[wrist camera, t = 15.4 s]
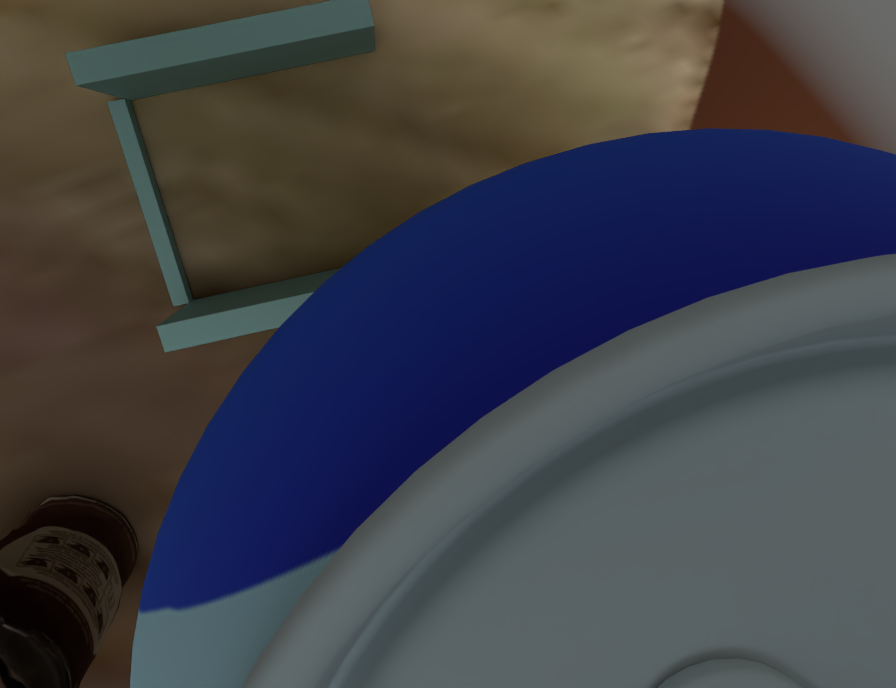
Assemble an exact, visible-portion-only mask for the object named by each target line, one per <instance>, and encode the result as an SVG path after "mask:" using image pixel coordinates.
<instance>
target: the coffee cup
mask: <svg viewBox="0 0 896 688" xmlns="http://www.w3.org/2000/svg"><path fill="white" fill-rule="evenodd" d="M137 552H138V548H137V542H136V538H135V536H134V533H133V531H132V530H131V528H130V526H129V525H128V523H127V521H126V520H125V519H124V518H123V517H122V516H121V515H120V514H119V513H117V512H116V511H115V510H113V509H112V508H110V507H108V506H106V505H104V504H102V503H100V502H98V501H95V500H91V499H86V498H83V497H79V496H73V495H72V496H68V497H51V498H48V499H46V500H45V501H44V502H43V503H42V504H41V505H39V506H38V507H36V508H33V509H32V510H31V511H30V512H29V514H28V515H27V516H26V518H25V519H24V521H23V522H22V524H21V526H20V528H18V529H15V530H12V531H11V533H10V534H9V535H7V536H6V537H5V538H3V539H2V540H0V688H79V686H80V683H81V680H82V679H83V677H84V675H85V673H86V671H87V669H88V668H89V666H90V664H91V663H92V661H93V660H94V658H95V656H96V654H97V652H98V650H99V648H100V646H101V644H102V641H103V639H104V637H105V634H106V632H107V630H108V628H109V626H110V624H111V623H112V621H113V619H114V617H115V615H116V612H117V610H118V608H119V602H120V598H121V594H122V588H123V586H124V584H125V583H126V581H127V580H128V578H129V576H130V574H131V572H132V570H133V567H134V564H135V561H136V557H137Z"/></svg>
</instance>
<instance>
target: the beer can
mask: <svg viewBox="0 0 896 688" xmlns="http://www.w3.org/2000/svg"><path fill="white" fill-rule="evenodd" d="M130 688H896V155H895V154H892V153H888V152H884V151H881V150H877V149H872V148H868V147H864V146H860V145H855V144H851V143H847V142H843V141H838V140H834V139H830V138H825V137H819V136H812V135H804V134H796V133H788V132H780V131H772V130H752V129H698V130H697V129H696V130H684V131H672V132H660V133H648V134H643V135H638V136H632V137H627V138H621V139H616V140H611V141H605V142H600V143H595V144H589V145H586V146H582V147H579V148H575V149H572V150H568V151H565V152H562V153H558V154H555V155H551V156H548V157H545V158H541V159H538V160H534V161H531V162H528V163H524V164H522V165H519V166H517V167H514V168H512V169H509V170H507V171H505V172H502V173H500V174H497V175H495V176H492V177H490V178H487V179H485V180H482V181H480V182H477V183H475V184H473V185H470V186H468V187H466V188H464V189H463V190H461V191H459V192H457V193H455V194H453V195H451V196H449V197H447V198H446V199H444V200H442V201H440V202H438V203H436V204H434V205H432V206H430V207H428V208H427V209H425V210H423V211H421V212H419V213H417V214H416V215H414V216H413V217H411V218H410V219H408V220H407V221H405V222H404V223H402V224H401V225H399V226H398V227H396V228H395V229H393V230H392V231H390V232H389V233H387V234H386V235H384V236H383V237H381V238H380V239H378V240H377V241H375V242H374V243H372V244H371V245H369V246H368V247H367V248H365V249H364V250H363V251H362V252H360V253H359V254H358V255H357V256H356V257H354V258H353V259H352V260H351V261H349V262H348V263H347V264H346V265H345V266H343V267H342V268H341V269H340V270H338V271H337V272H336V273H335V274H334V275H332V276H331V277H330V278H329V279H327V280H326V281H325V282H324V283H323V284H322V285H321V286H320V287H319V288H318V289H317V290H316V291H315V292H314V293H313V294H312V295H311V296H310V297H309V298H308V299H307V300H306V301H305V302H304V303H303V304H302V305H301V306H300V307H299V308H298V309H297V310H296V311H295V312H294V313H293V314H292V315H291V316H290V317H289V318H288V319H287V320H286V321H285V322H284V323H283V324H282V325H281V326H280V327H279V328H278V330H277V331H276V332H275V333H274V334H273V336H272V337H271V338H270V339H269V341H268V342H267V343H266V344H265V346H264V347H263V348H262V349H261V350H260V352H259V353H258V354H257V355H256V357H255V358H254V359H253V360H252V361H251V363H250V364H249V365H248V366H247V368H246V369H245V370H244V371H243V373H242V374H241V376H240V377H239V379H238V380H237V382H236V383H235V385H234V386H233V388H232V389H231V391H230V392H229V394H228V395H227V397H226V398H225V400H224V401H223V403H222V404H221V406H220V407H219V409H218V410H217V412H216V413H215V415H214V417H213V418H212V420H211V421H210V423H209V424H208V426H207V427H206V429H205V431H204V433H203V435H202V437H201V439H200V441H199V443H198V445H197V447H196V448H195V450H194V452H193V454H192V456H191V458H190V460H189V462H188V464H187V466H186V468H185V469H184V471H183V473H182V475H181V477H180V479H179V482H178V484H177V487H176V489H175V492H174V494H173V497H172V499H171V502H170V504H169V507H168V509H167V512H166V514H165V517H164V519H163V522H162V524H161V527H160V529H159V532H158V535H157V539H156V542H155V546H154V549H153V553H152V556H151V560H150V564H149V567H148V571H147V574H146V578H145V581H144V585H143V589H142V594H141V600H140V606H139V612H138V618H137V624H136V629H135V635H134V641H133V651H132V665H131V681H130Z"/></svg>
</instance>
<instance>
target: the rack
mask: <svg viewBox="0 0 896 688" xmlns="http://www.w3.org/2000/svg"><path fill="white" fill-rule="evenodd" d="M373 51H375V37H374V22H373V17H372V13H371V8H370V3H369V0H332V1H327V2H322V3H316V4H311V5H306V6H301V7H296V8H291V9H286V10H281V11H276V12H271V13H266V14H261V15H256V16H251V17H246V18H241V19H235V20H230V21H225V22H220V23H215V24H210V25H205V26H200V27H195V28H190V29H185V30H180V31H175V32H170V33H165V34H160V35H154V36H149V37H144V38H139V39H134V40H129V41H124V42H119V43H114V44H109V45H104V46H99V47H94V48H89V49H84V50H79V51H73V52H68V53H65V55H66V58H67V61H68V64H69V67H70V70H71V73H72V76H73V79H74V82H75V85H76V86H79V87H83V88H87V89H90V90H94V91H98V92H101V93H105V94H109V95H112V96H116V97H120V98H123V99H121V100H116V101H111V102H107V103H108V106H109V109H110V112H111V115H112V118H113V122H114V125H115V128H116V131H117V134H118V137H119V140H120V143H121V146H122V149H123V152H124V155H125V159H126V162H127V165H128V168H129V171H130V174H131V177H132V180H133V183H134V186H135V189H136V192H137V195H138V199H139V202H140V205H141V208H142V211H143V214H144V217H145V220H146V223H147V226H148V229H149V232H150V236H151V239H152V242H153V245H154V248H155V251H156V254H157V257H158V260H159V263H160V266H161V269H162V273H163V276H164V279H165V282H166V285H167V288H168V291H169V294H170V297H171V300H172V303H173V306H177V305H182V304H186V303H188V304H187V305H185V306H184V307H183V308H181V309H180V310H179V311H177V312H176V313H174V314H173V315H172V316H170V317H169V318H167V319H166V320H165V321H163V322H162V323H160V324H159V325H158V326H156V327H157V330H158V333H159V336H160V339H161V342H162V345H163V348H164V350H165V352H169V351H173V350H178V349H182V348H187V347H191V346H196V345H200V344H205V343H210V342H214V341H219V340H223V339H228V338H232V337H237V336H241V335H246V334H250V333H255V332H259V331H264V330H269V329H273V328H278V327H280V326H281V325H282V324H283V323H284V322H285V321H286V320H287V319H288V318H289V317H290V316H291V315H292V314H293V313H294V312H295V311H296V310H297V309H298V308H299V307H300V306H301V305H302V304H303V303H304V302H305V301H306V300H307V299H308V298H309V297H310V296H311V295H312V294H313V293H314V292H315V291H316V290H317V289H318V288H319V287H320V286H321V285H322V284H323V283H324V282H325V281H326V280H327V279H329V278H330V277H331V276H332V275H334V274H335V273H336V272H337V271H338V270H340V269H341V268H338V269H334V270H329V271H324V272H320V273H315V274H311V275H306V276H301V277H297V278H292V279H288V280H283V281H278V282H274V283H269V284H264V285H260V286H255V287H251V288H246V289H241V290H237V291H232V292H228V293H223V294H218V295H214V296H209V297H204V298H200V299H195V300H193V298H192V294H191V291H190V288H189V285H188V282H187V279H186V275H185V272H184V269H183V266H182V263H181V260H180V256H179V253H178V250H177V247H176V244H175V241H174V237H173V234H172V231H171V228H170V225H169V222H168V218H167V215H166V212H165V209H164V206H163V202H162V199H161V196H160V193H159V190H158V187H157V183H156V180H155V177H154V174H153V171H152V168H151V164H150V161H149V158H148V155H147V152H146V149H145V145H144V142H143V139H142V136H141V133H140V129H139V126H138V123H137V120H136V117H135V114H134V110H133V107H132V104H131V101H130V100H135V99H140V98H145V97H150V96H155V95H160V94H165V93H170V92H175V91H179V90H184V89H189V88H194V87H199V86H204V85H209V84H214V83H219V82H224V81H229V80H234V79H239V78H244V77H249V76H254V75H259V74H264V73H269V72H274V71H279V70H284V69H289V68H293V67H298V66H303V65H308V64H313V63H318V62H323V61H328V60H333V59H338V58H343V57H348V56H353V55H358V54H363V53H368V52H373Z"/></svg>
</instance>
